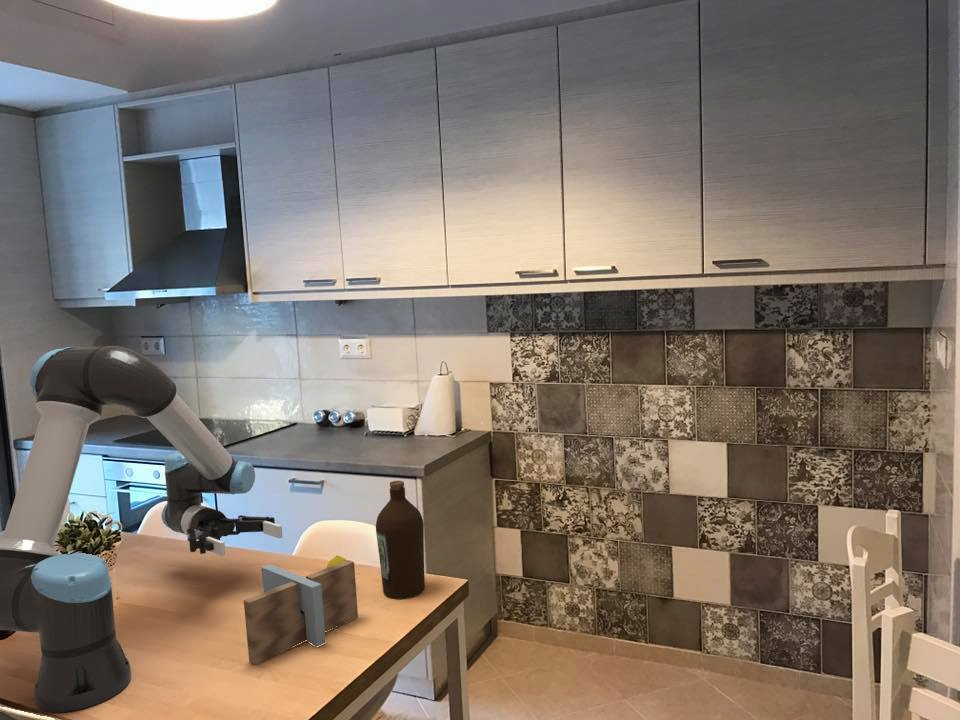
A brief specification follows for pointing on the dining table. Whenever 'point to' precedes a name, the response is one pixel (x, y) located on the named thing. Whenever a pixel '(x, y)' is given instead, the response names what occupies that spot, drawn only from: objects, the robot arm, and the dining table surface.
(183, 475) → the robot arm
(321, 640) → the slate slotted plate
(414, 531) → the dark brown bottle
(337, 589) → the walnut slotted board
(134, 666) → the dining table surface
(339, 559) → the lemon
